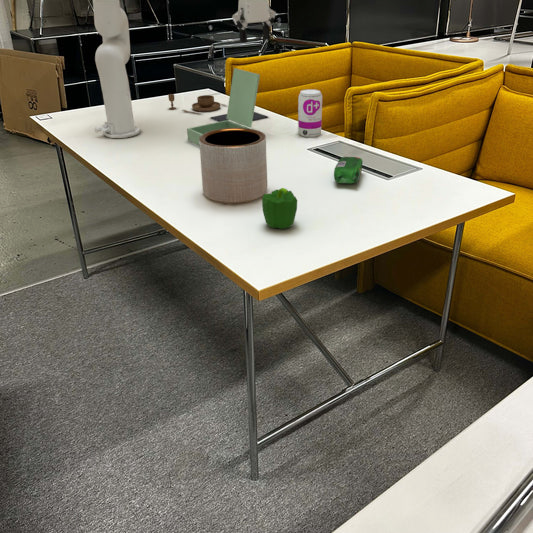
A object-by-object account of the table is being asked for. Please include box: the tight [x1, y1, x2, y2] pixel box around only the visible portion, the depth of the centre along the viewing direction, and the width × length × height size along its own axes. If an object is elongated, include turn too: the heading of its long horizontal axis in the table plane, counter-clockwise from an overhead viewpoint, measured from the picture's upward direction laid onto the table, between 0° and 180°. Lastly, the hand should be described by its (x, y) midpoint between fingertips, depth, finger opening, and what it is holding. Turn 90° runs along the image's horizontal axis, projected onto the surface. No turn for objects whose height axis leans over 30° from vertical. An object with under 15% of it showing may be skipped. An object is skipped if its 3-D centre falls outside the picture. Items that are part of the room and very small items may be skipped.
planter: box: [199, 127, 268, 204], centre depth 149 cm, size 18×18×16 cm
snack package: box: [333, 156, 364, 185], centre depth 159 cm, size 7×16×5 cm, turn 164°
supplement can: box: [297, 88, 323, 138], centre depth 196 cm, size 8×8×15 cm
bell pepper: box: [261, 187, 298, 230], centre depth 132 cm, size 8×8×10 cm
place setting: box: [167, 93, 227, 115], centre depth 235 cm, size 18×20×6 cm
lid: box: [226, 67, 261, 129], centre depth 192 cm, size 17×15×1 cm
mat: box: [210, 111, 269, 122], centre depth 220 cm, size 18×14×1 cm
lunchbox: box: [186, 120, 250, 146], centre depth 192 cm, size 17×15×5 cm
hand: (255, 40), depth 189 cm, fingers open, 9 cm apart
